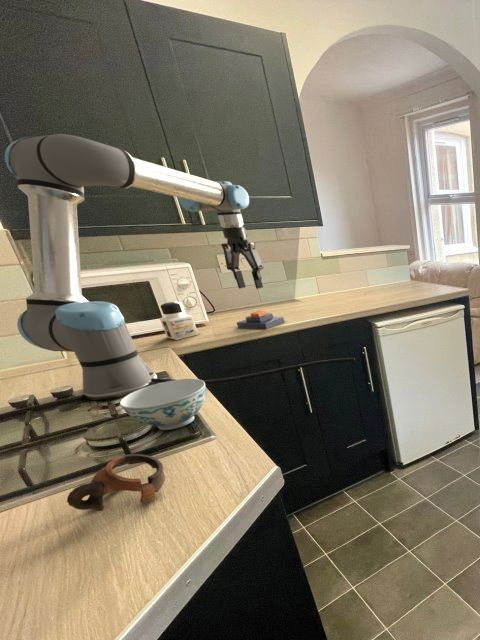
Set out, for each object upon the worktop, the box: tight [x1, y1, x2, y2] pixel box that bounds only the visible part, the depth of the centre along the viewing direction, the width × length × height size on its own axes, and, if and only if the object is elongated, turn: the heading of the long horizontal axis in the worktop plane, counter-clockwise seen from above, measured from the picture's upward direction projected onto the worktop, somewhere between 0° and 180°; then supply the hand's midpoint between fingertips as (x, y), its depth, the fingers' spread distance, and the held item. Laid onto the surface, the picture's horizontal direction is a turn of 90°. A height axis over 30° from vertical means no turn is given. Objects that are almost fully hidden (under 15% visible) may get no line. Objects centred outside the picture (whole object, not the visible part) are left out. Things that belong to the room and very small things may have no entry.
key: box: [250, 310, 267, 317], centre depth 171 cm, size 4×4×2 cm
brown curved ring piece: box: [66, 453, 166, 512], centre depth 68 cm, size 12×10×8 cm
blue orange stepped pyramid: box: [236, 312, 285, 330], centre depth 172 cm, size 14×10×4 cm
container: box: [159, 301, 199, 341], centre depth 159 cm, size 8×8×13 cm
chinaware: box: [119, 378, 207, 431], centre depth 94 cm, size 15×15×8 cm
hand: (250, 287), depth 167 cm, fingers open, 8 cm apart
